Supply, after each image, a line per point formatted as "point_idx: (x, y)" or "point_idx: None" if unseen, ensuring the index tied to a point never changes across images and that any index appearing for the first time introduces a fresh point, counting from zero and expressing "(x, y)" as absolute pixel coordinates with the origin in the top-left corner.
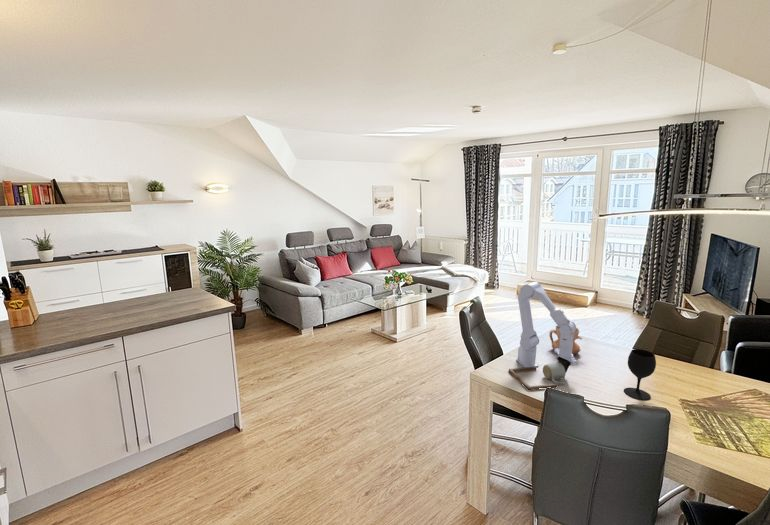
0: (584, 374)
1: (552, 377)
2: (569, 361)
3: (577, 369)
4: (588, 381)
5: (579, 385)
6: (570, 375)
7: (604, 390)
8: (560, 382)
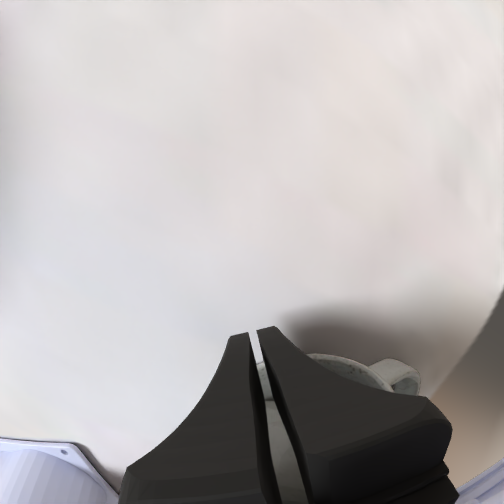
0: (178, 28)
1: None
2: (481, 486)
3: (51, 69)
4: (357, 71)
5: (431, 221)
6: (210, 218)
7: (484, 51)
8: None
